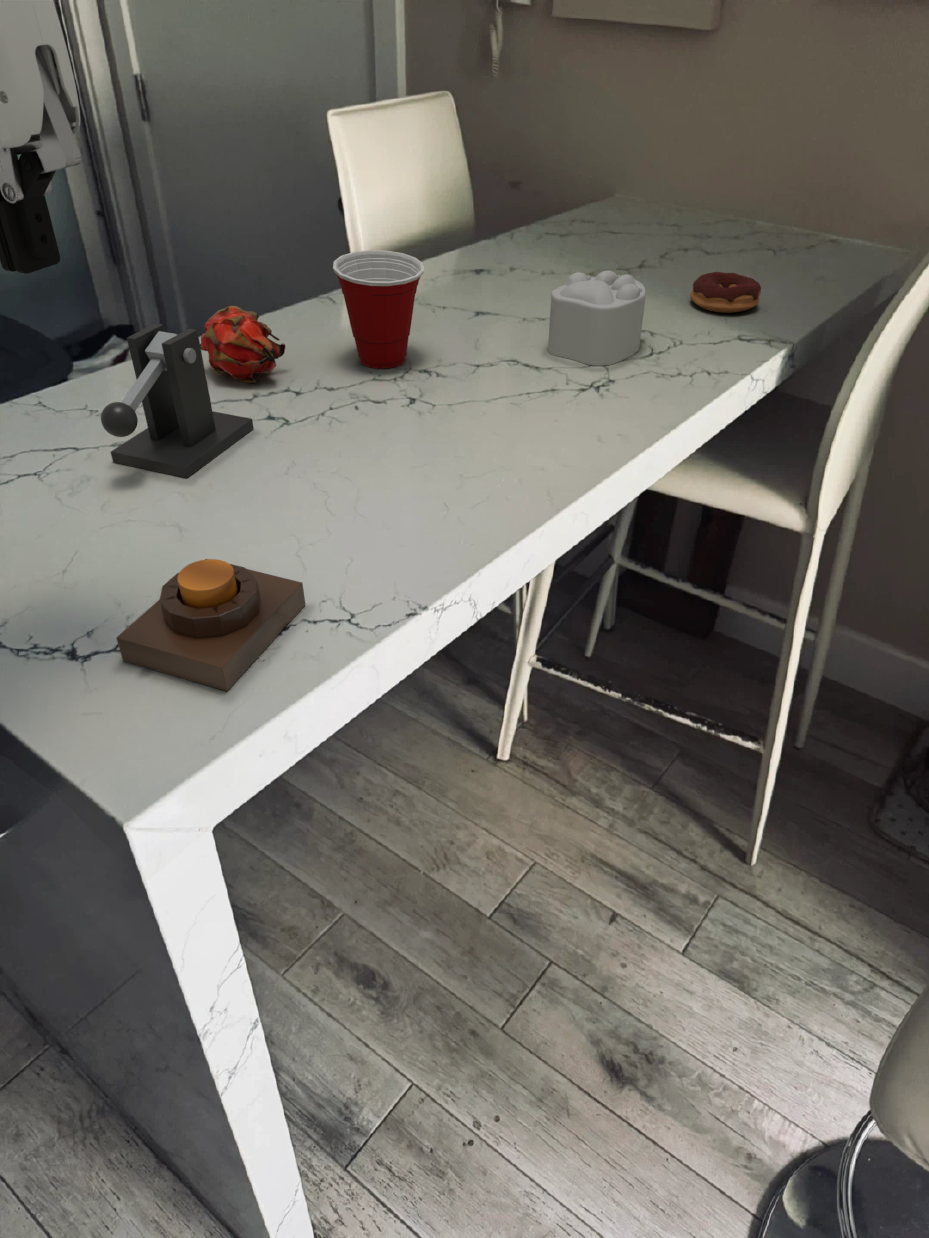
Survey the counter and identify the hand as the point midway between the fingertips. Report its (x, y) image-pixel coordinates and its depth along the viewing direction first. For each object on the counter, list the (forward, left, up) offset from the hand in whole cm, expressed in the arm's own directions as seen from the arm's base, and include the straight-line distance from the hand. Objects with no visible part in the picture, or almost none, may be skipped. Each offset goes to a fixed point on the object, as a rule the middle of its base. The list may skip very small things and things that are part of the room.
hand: (32, 266), depth 54 cm
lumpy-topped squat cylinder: (+71, +10, -26) cm, 76 cm away
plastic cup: (+47, +25, -26) cm, 59 cm away
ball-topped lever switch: (+14, +20, -19) cm, 31 cm away
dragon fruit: (+32, +33, -26) cm, 53 cm away
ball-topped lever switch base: (+17, +21, -26) cm, 38 cm away
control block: (+3, -9, -26) cm, 27 cm away
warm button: (+3, -9, -22) cm, 24 cm away
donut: (+97, +8, -26) cm, 101 cm away
